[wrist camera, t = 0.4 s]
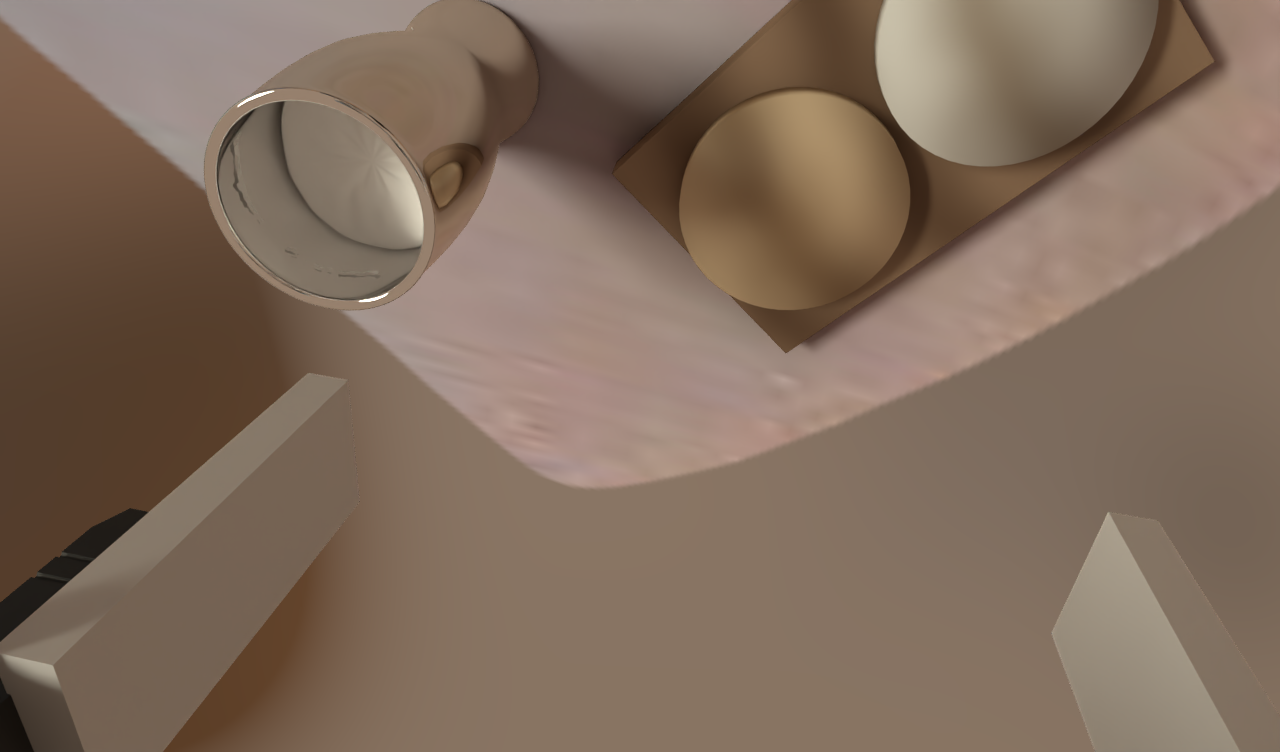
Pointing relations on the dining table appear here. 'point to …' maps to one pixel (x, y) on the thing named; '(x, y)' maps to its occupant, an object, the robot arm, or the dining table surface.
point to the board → (889, 136)
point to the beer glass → (370, 153)
